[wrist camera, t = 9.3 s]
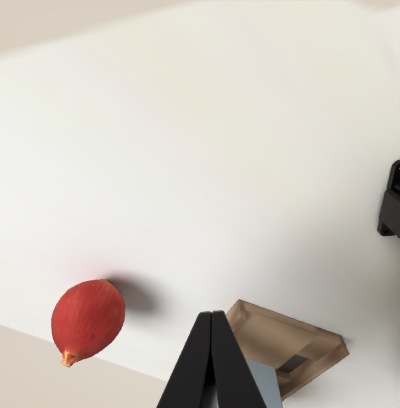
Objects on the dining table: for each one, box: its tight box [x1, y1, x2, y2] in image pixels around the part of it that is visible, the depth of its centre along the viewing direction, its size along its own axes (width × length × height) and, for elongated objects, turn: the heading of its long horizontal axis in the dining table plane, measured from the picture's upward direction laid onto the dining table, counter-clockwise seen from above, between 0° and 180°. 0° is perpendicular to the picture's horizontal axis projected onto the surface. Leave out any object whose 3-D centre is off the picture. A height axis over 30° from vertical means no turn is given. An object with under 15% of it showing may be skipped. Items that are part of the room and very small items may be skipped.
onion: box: [51, 279, 125, 367], centre depth 22 cm, size 6×6×8 cm
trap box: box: [226, 300, 349, 401], centre depth 29 cm, size 14×13×4 cm
